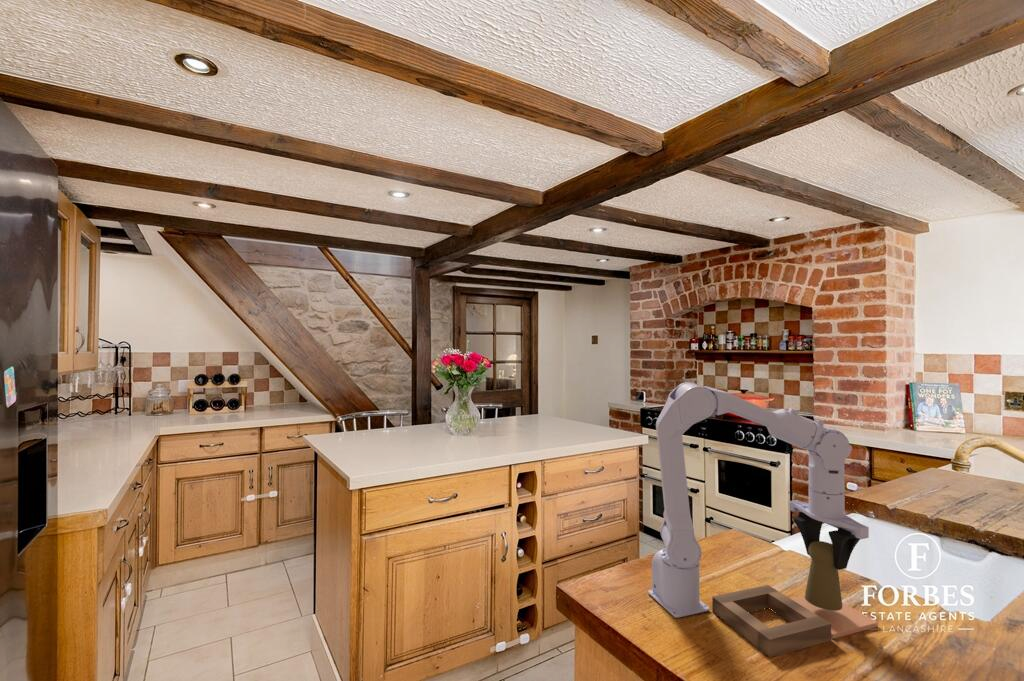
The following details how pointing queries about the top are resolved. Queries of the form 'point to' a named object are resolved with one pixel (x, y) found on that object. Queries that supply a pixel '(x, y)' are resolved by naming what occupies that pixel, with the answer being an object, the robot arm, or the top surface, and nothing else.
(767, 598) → the walnut holder
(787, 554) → the top surface
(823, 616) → the terracotta tile
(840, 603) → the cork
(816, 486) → the robot arm
